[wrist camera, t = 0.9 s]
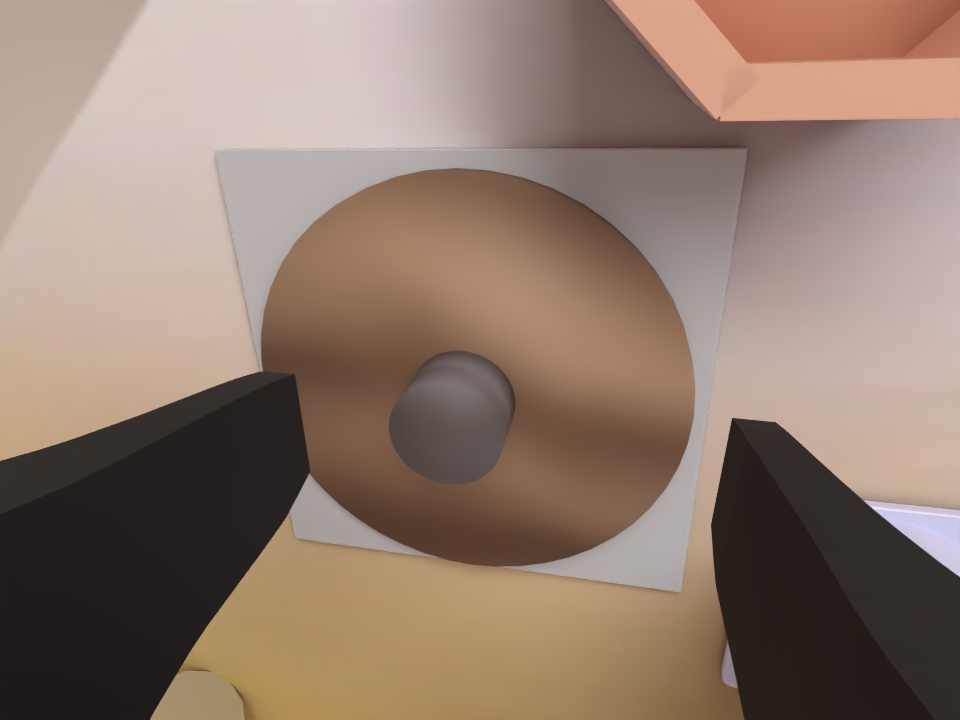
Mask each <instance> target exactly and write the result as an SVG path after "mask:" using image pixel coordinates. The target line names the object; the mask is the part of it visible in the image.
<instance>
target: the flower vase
mask: <svg viewBox="0 0 960 720" xmlns="http://www.w3.org/2000/svg"><path fill="white" fill-rule="evenodd" d="M150 720H245V719H244V707H243V701H242V699H241V698H240V696H239V695H238V693H237V692H236V690H235V689H234V687H233V686H232V684H230V683H229V682H227V681H225V680H224V679H222V678H221V677H219V676H217V675H216V674H214V673H212V672H210V671H184V672H182V673H180V674H178V675H176V676H175V678H174V679H173V681H172V683H171V684H170V686H169V688H168V690H167V691H166V693H165V695H164V696H163V698H162V700H161V701H160V703H159V705H158V706H157V708H156V710H155V712H154V713H153V715H152V717H151V719H150Z"/></svg>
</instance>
